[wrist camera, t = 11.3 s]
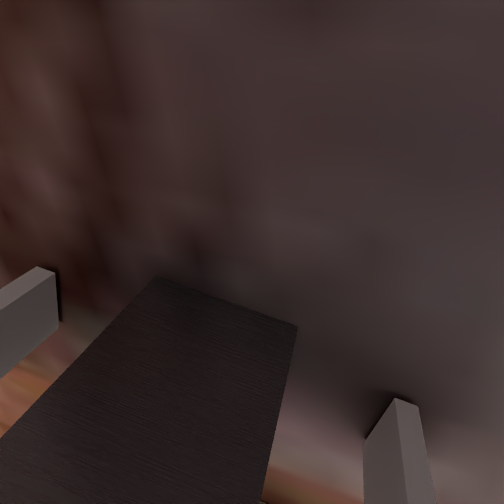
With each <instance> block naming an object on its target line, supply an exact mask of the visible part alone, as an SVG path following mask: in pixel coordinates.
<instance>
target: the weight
mask: <svg viewBox="0 0 504 504" xmlns="http://www.w3.org/2000/svg"><path fill="white" fill-rule="evenodd" d="M297 329H298V326H295V325H292V324H289V323H286V322H284V321H281V320H278V319H275V318H272V317H270V316H267V315H264V314H261V313H258V312H256V311H253V310H250V309H247V308H244V307H241V306H239V305H236V304H233V303H230V302H227V301H225V300H222V299H219V298H216V297H213V296H211V295H208V294H205V293H202V292H199V291H197V290H194V289H191V288H188V287H185V286H183V285H180V284H177V283H174V282H171V281H169V280H166V279H163V278H160V277H157V276H156V277H155V278H154V279H153V280H152V281H151V282H150V283H149V284H148V285H147V286H146V287H145V288H144V289H143V290H142V291H141V292H140V293H139V294H138V295H137V296H136V297H135V298H134V300H133V301H132V302H131V303H130V304H129V305H128V306H127V307H126V308H125V309H124V310H123V311H122V312H121V313H120V314H119V315H118V316H117V317H116V318H115V319H114V320H113V321H112V322H111V324H110V325H109V326H108V327H107V328H106V329H105V330H104V331H103V332H102V333H101V334H100V335H99V336H98V337H97V338H96V339H95V340H94V341H93V342H92V343H91V344H90V345H89V346H88V347H87V349H86V350H85V351H84V352H83V353H82V354H81V355H80V356H79V357H78V358H77V359H76V360H75V361H74V362H73V363H72V364H71V365H70V366H69V367H68V368H67V369H66V370H65V371H64V373H63V374H62V375H61V376H60V377H59V378H58V379H57V380H56V381H55V382H54V383H53V384H52V385H51V386H50V387H49V388H48V389H47V390H46V391H45V392H44V393H43V394H42V395H41V396H40V398H39V399H38V400H37V401H36V402H35V403H34V404H33V405H32V406H31V407H30V408H29V409H28V410H27V411H26V412H25V413H24V414H23V415H22V416H21V417H20V418H19V419H18V420H17V422H16V423H15V424H14V425H13V426H12V427H11V428H10V429H9V430H8V431H7V432H6V433H5V434H4V435H3V436H2V437H1V438H0V504H259V503H260V498H261V494H262V489H263V485H264V480H265V476H266V471H267V466H268V462H269V457H270V453H271V448H272V444H273V439H274V434H275V430H276V425H277V421H278V416H279V412H280V407H281V402H282V398H283V393H284V389H285V384H286V380H287V375H288V370H289V366H290V361H291V357H292V352H293V347H294V343H295V338H296V334H297Z"/></svg>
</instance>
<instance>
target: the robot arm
mask: <svg viewBox="0 0 504 504" xmlns="http://www.w3.org/2000/svg"><path fill="white" fill-rule="evenodd" d="M58 328H59V320H58V306H57V292H56V279H55V273H54V272H51V271H48V270H46V269H43V268H40V267H37V266H36V267H35V268H33V269H32V270H30V271H28V272H27V273H25V274H24V275H22V276H20V277H19V278H17V279H15V280H14V281H12V282H11V283H9V284H7V285H6V286H4V287H3V288H1V289H0V379H1V378H2V377H3V376H4V375H5V374H7V373H8V372H9V371H10V370H11V369H12V368H13V367H15V366H16V365H17V364H18V363H19V362H20V361H21V360H23V359H24V358H25V357H26V356H27V355H28V354H29V353H31V352H32V351H33V350H34V349H35V348H36V347H37V346H39V345H40V344H41V343H42V342H43V341H44V340H45V339H47V338H48V337H49V336H50V335H51V334H52V333H53V332H55V331H56V330H57V329H58ZM363 480H364V504H437V503H436V498H435V493H434V487H433V482H432V477H431V472H430V466H429V461H428V456H427V451H426V445H425V440H424V435H423V430H422V424H421V419H420V414H419V409H418V406H416V405H413V404H411V403H408V402H405V401H403V400H400V399H397V398H394V400H393V401H392V402H391V404H390V405H389V407H388V408H387V410H386V411H385V413H384V414H383V416H382V417H381V419H380V420H379V422H378V423H377V424H376V426H375V427H374V429H373V430H372V432H371V433H370V435H369V436H368V438H367V439H366V441H365V442H364V444H363Z"/></svg>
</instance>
